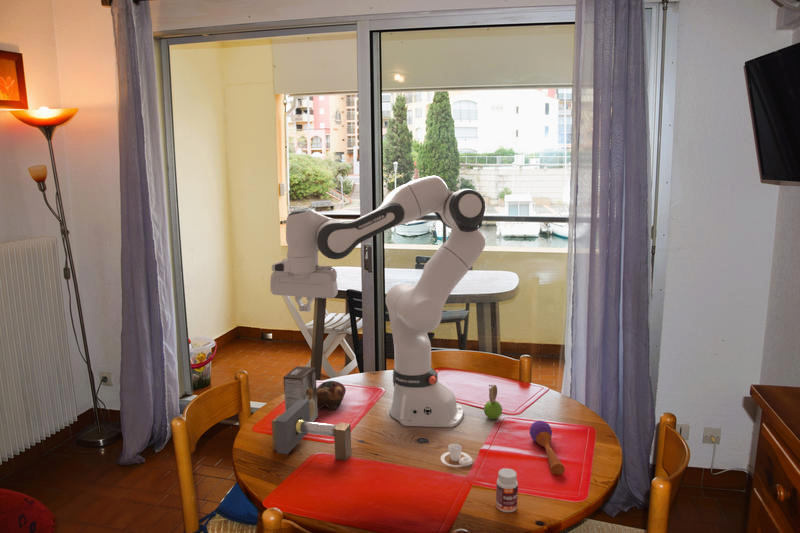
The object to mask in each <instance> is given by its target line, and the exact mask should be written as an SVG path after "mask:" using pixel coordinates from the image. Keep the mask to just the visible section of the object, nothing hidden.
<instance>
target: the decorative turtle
mask: <svg viewBox="0 0 800 533" xmlns="http://www.w3.org/2000/svg"><path fill="white" fill-rule="evenodd" d="M316 388H317V408H318V409H321V408H323V406H326V407H328V408H329V410H331V411H334V410H335V409H336V407H337V406H338V405H341V404H342V402H343V400H344V397H345V394H346V390H347V389H346V387H345V386H344V384H343V383H341V382H339V381H335V380H328V381H325V382H322V383H320V384H319V385H318V386H316Z"/></svg>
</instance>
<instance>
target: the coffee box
mask: <svg viewBox="0 0 800 533" xmlns="http://www.w3.org/2000/svg"><path fill="white" fill-rule="evenodd" d="M283 387H284V388H283V390H284V407H285V411H286V410H287V409H288V408H290V407H291V406H292V405H293V404H294V403H295V402H296V401H297V400H298V399H307V400H309V406H310V422H316V419H317V418H318V417H319V411H318V410H319V408H317V372H316V367H314V366H313V367H312V366H301V365H300V366H299V365H296V366H295V367H294V368H293V369H292V370H290V371H289V372H288V373H287V374H286V375H284V376H283Z"/></svg>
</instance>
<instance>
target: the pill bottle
mask: <svg viewBox="0 0 800 533" xmlns="http://www.w3.org/2000/svg"><path fill="white" fill-rule="evenodd" d="M497 475H498V476H497V477H498V478H497V479H496V490H495V491H496V492H495V506H496V508H497V509H498V510H500V511H501V512H503V513H513V512H515V511H517V509H518V493H519V491H518V490H519V489H518V488H519V483H518V480H517V477H518V476H517V471H516V470H514V469H512V468H508V467H507V468H506V467H503V468H501V469H499V470H498V474H497Z"/></svg>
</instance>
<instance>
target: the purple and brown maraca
mask: <svg viewBox="0 0 800 533" xmlns="http://www.w3.org/2000/svg"><path fill="white" fill-rule="evenodd" d="M529 435H530V438H531V439H532V440H533V441H534V442H535V443H536V444H538V445H539V446H542V447H544V448H545V452H546V456H547V459H548V464H549V467H550V472H551V474H553V476H561V475H563V474H564V473H565V469H566V468H565V466H564V464H563V463H562V462H561V460H560V459H559V457H558V456H557V454H556V453H555V452H554V450H553V449H552V447H551V446H550V444H551V442H552V436H553V429H552V427H551V426H550V424H549V423H548V422H546V421H543V420H536V421H534V422H533V423H532V424H531V425H530V427H529Z"/></svg>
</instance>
